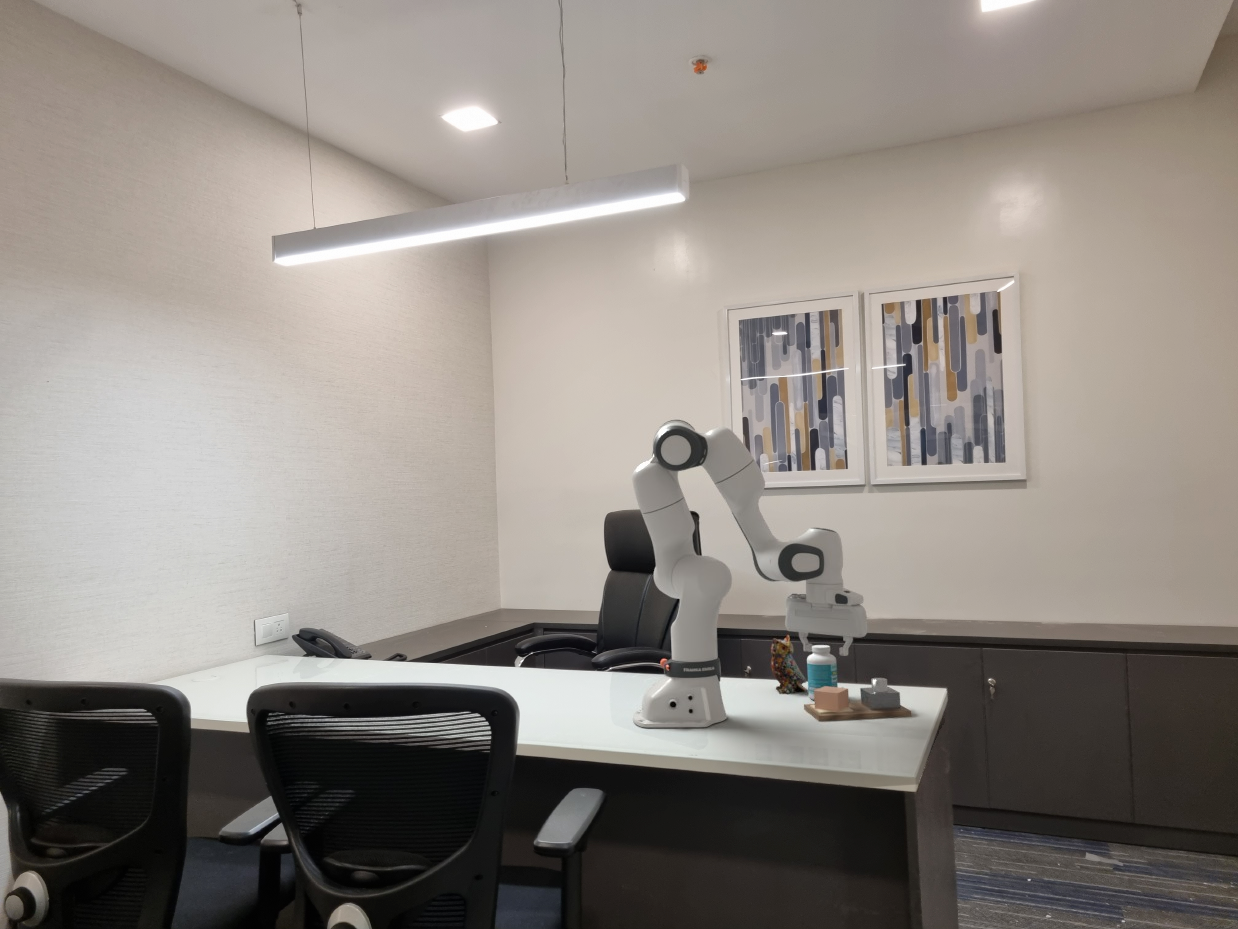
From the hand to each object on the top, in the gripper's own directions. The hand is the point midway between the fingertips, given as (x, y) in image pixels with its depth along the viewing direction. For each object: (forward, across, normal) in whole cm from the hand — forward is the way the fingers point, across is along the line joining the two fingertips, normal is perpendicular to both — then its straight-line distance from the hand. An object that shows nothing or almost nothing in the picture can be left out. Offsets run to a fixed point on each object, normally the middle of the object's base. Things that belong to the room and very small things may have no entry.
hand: (825, 653), depth 200 cm
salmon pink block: (+13, +1, +1) cm, 13 cm away
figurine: (+14, -20, +18) cm, 31 cm away
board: (+14, +5, +5) cm, 16 cm away
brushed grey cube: (+13, +9, +9) cm, 18 cm away
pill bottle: (+14, -8, +14) cm, 22 cm away
